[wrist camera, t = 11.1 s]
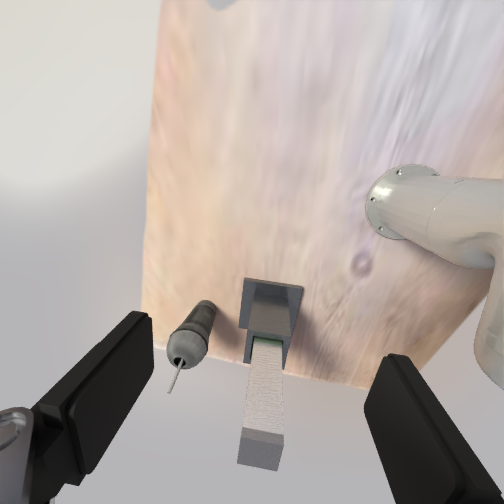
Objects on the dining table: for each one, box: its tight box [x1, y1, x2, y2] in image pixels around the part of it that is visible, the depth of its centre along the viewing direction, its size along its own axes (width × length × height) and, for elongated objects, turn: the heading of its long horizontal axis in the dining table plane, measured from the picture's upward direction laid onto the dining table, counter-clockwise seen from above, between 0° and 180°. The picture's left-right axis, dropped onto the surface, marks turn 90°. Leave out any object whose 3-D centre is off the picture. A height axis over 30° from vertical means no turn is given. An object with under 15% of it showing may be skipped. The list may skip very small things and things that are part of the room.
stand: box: [239, 278, 302, 370], centre depth 45 cm, size 12×12×13 cm
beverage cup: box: [167, 300, 216, 394], centre depth 43 cm, size 7×7×20 cm
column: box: [237, 336, 284, 471], centre depth 34 cm, size 4×4×20 cm
